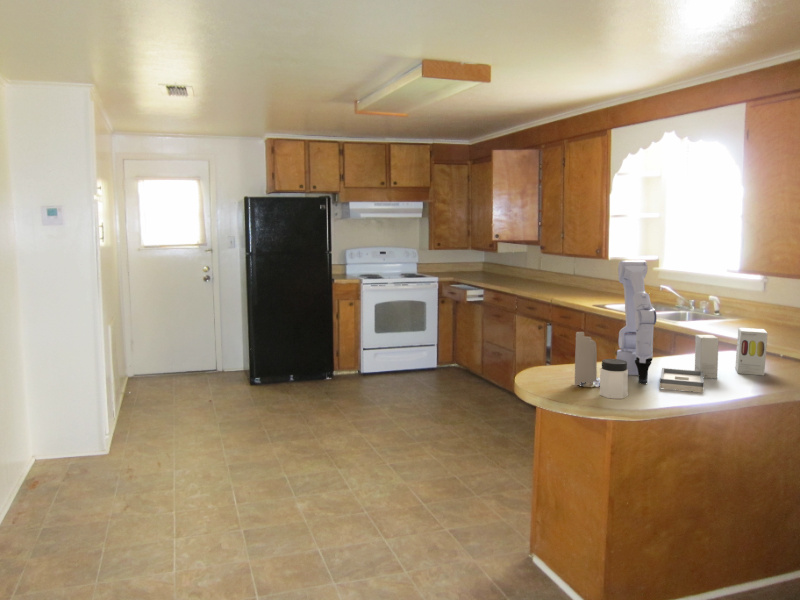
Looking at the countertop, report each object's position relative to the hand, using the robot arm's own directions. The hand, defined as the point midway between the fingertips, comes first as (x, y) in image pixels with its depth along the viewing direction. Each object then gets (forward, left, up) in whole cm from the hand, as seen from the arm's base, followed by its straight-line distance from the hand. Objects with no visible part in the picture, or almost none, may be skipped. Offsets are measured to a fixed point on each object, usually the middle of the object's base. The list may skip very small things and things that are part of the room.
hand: (642, 378), depth 233 cm
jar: (-8, -22, -2) cm, 23 cm away
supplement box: (+37, +34, -2) cm, 50 cm away
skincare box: (+21, +20, -2) cm, 29 cm away
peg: (0, 0, -2) cm, 2 cm away
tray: (+13, +3, -2) cm, 13 cm away
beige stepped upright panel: (-16, -10, -2) cm, 19 cm away
